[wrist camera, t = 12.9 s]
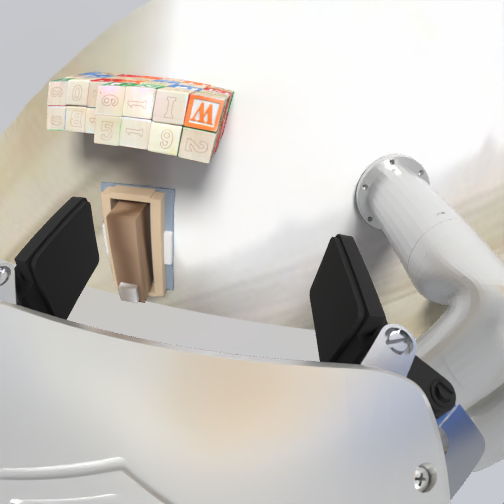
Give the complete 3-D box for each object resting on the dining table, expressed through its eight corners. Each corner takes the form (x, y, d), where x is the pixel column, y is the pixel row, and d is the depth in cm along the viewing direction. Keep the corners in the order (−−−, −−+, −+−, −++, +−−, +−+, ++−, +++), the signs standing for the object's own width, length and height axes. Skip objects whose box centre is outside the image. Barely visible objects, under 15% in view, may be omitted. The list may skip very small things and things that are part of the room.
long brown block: (149, 199, 40) (132, 225, 34) (153, 278, 49) (142, 308, 44) (122, 196, 39) (102, 221, 34) (131, 274, 49) (118, 303, 43)
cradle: (174, 189, 39) (169, 198, 37) (173, 288, 51) (170, 299, 49) (102, 182, 38) (93, 190, 36) (115, 277, 50) (110, 288, 48)
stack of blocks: (83, 112, 32) (30, 137, 22) (88, 72, 28) (32, 84, 18) (223, 134, 35) (209, 165, 25) (236, 90, 31) (225, 100, 21)
